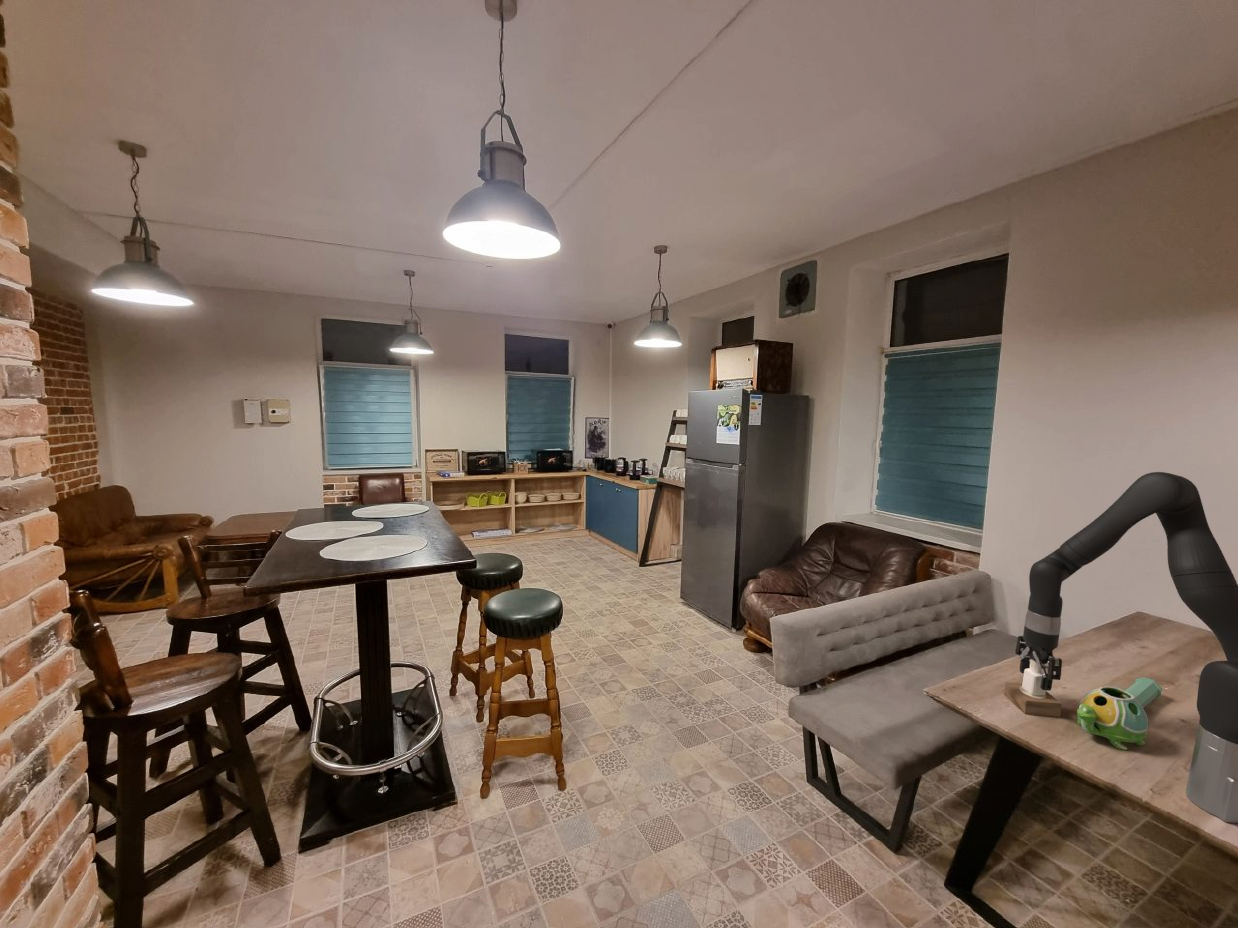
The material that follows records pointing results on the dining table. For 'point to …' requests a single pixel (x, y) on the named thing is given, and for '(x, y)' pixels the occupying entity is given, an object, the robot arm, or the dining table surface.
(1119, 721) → the turtle holder
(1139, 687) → the container
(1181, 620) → the dining table surface
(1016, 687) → the base
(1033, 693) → the salt shaker
